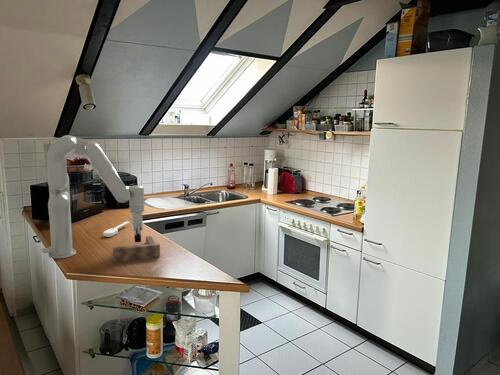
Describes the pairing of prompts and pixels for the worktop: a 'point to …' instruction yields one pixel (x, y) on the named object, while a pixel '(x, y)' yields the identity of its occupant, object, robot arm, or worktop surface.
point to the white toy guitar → (112, 231)
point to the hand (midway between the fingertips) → (137, 241)
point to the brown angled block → (137, 251)
